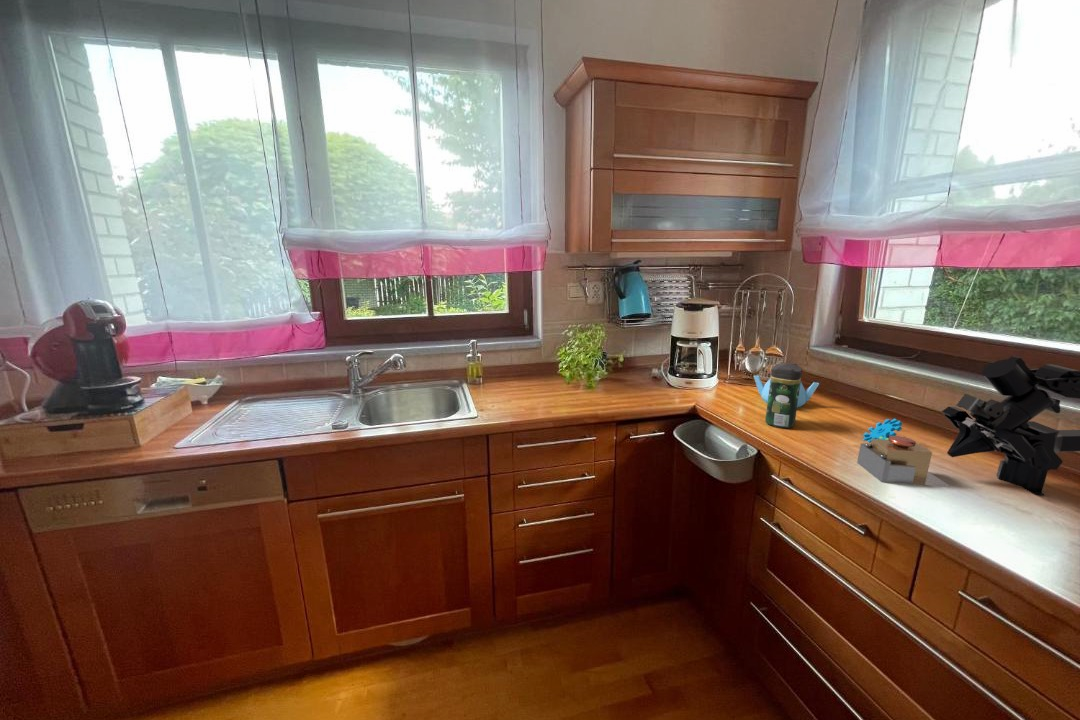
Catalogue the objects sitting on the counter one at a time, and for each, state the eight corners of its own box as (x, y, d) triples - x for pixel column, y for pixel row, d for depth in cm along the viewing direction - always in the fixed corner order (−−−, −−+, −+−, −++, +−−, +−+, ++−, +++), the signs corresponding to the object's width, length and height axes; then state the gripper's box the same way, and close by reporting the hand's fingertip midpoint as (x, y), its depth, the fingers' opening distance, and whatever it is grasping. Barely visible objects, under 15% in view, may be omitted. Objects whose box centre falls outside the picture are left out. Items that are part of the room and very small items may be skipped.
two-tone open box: (919, 470, 108) (925, 444, 106) (950, 490, 98) (957, 462, 97) (856, 466, 109) (860, 441, 108) (880, 486, 100) (885, 458, 98)
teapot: (818, 408, 152) (823, 377, 150) (783, 412, 147) (788, 380, 145) (782, 395, 166) (786, 366, 164) (749, 398, 162) (752, 369, 159)
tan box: (907, 469, 106) (914, 436, 104) (925, 481, 100) (933, 446, 98) (866, 466, 107) (872, 433, 105) (881, 478, 101) (888, 443, 99)
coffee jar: (767, 416, 143) (775, 359, 139) (796, 421, 139) (805, 363, 135) (761, 425, 136) (770, 365, 131) (791, 431, 131) (801, 369, 127)
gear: (858, 429, 129) (895, 411, 123) (873, 445, 128) (910, 428, 123) (863, 448, 119) (903, 430, 114) (879, 465, 119) (920, 447, 113)
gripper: (958, 373, 106) (899, 415, 110) (1032, 397, 88) (958, 447, 92) (988, 406, 107) (928, 447, 111) (1068, 436, 89) (993, 484, 92)
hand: (949, 455), depth 101 cm, fingers closed
